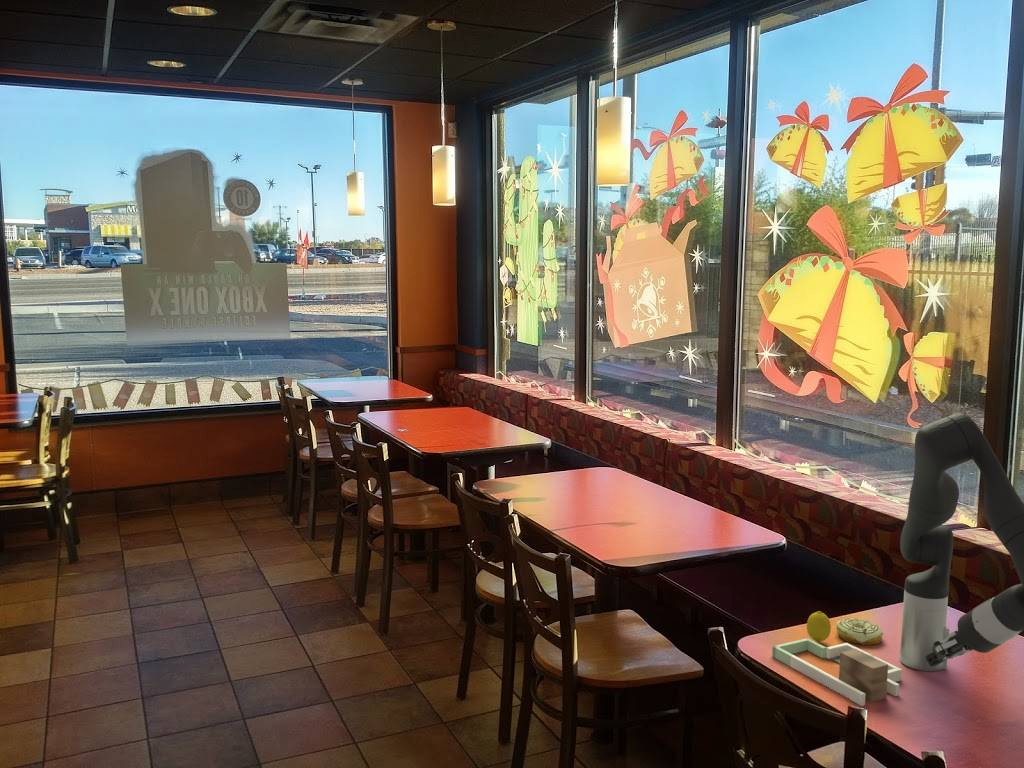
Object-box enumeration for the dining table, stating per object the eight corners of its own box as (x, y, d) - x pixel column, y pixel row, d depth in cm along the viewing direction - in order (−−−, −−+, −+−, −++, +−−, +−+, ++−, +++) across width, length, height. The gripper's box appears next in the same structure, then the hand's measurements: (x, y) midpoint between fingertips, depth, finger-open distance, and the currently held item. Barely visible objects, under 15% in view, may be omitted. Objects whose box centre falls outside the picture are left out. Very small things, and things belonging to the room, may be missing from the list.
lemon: (831, 648, 218) (833, 616, 217) (807, 646, 219) (809, 614, 218) (828, 639, 223) (829, 608, 222) (804, 637, 224) (806, 606, 223)
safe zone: (825, 657, 212) (826, 647, 212) (790, 666, 207) (790, 655, 207) (807, 648, 218) (807, 638, 217) (772, 656, 213) (772, 646, 212)
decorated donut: (865, 651, 217) (866, 636, 216) (827, 635, 225) (827, 621, 225) (890, 641, 223) (891, 626, 222) (852, 626, 231) (853, 612, 231)
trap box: (920, 689, 196) (920, 678, 196) (861, 706, 189) (862, 694, 188) (846, 652, 215) (846, 642, 215) (790, 666, 207) (790, 655, 207)
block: (886, 698, 193) (888, 664, 192) (870, 702, 191) (872, 668, 190) (853, 680, 201) (855, 648, 200) (838, 684, 199) (840, 652, 198)
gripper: (1002, 600, 172) (942, 638, 184) (955, 611, 166) (896, 649, 178) (1026, 637, 168) (963, 673, 180) (978, 649, 162) (917, 686, 174)
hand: (930, 661), depth 179 cm, fingers closed
